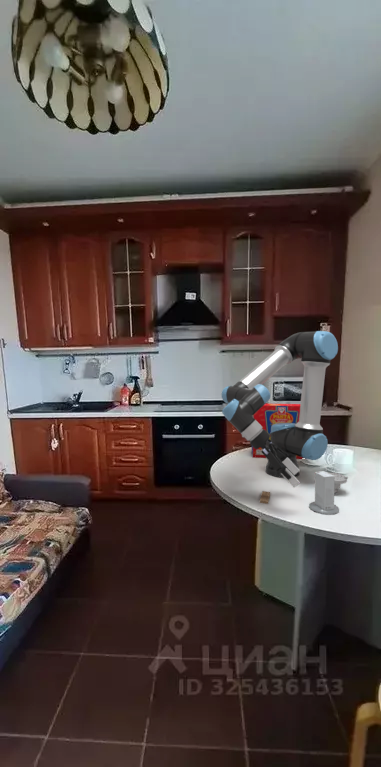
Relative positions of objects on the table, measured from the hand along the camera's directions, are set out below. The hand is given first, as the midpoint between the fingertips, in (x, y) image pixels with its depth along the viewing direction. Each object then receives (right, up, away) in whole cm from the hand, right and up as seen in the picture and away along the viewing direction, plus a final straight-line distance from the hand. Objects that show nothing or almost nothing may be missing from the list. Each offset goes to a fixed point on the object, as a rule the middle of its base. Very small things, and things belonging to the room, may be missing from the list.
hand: (297, 478), depth 134 cm
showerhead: (+19, -9, +14) cm, 25 cm away
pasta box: (+8, -5, +64) cm, 64 cm away
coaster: (+9, -10, -2) cm, 14 cm away
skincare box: (+9, -10, -2) cm, 13 cm away
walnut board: (-10, -9, +7) cm, 15 cm away
